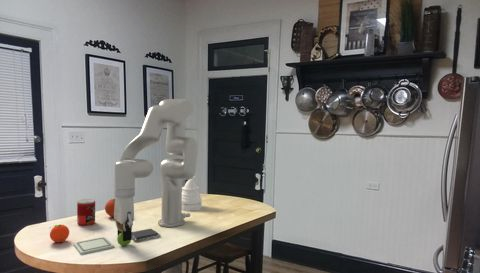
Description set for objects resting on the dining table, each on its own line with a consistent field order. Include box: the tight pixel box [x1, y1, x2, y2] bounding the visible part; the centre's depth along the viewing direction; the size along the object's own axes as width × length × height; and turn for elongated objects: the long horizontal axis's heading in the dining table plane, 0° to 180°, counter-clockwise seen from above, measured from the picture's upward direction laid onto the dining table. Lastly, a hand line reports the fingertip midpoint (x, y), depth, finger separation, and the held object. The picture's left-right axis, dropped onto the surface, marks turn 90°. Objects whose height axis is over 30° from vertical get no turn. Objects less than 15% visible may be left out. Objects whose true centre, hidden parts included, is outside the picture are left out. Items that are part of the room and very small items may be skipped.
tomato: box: [104, 198, 115, 218], centre depth 168 cm, size 10×10×10 cm
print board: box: [73, 236, 115, 256], centre depth 127 cm, size 12×12×1 cm
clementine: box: [49, 224, 70, 243], centre depth 131 cm, size 8×7×7 cm
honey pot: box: [182, 175, 203, 212], centre depth 187 cm, size 13×13×18 cm
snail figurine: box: [114, 215, 133, 247], centre depth 129 cm, size 5×6×12 cm
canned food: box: [76, 198, 96, 227], centre depth 155 cm, size 8×8×11 cm
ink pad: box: [131, 228, 161, 243], centre depth 139 cm, size 11×9×2 cm
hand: (124, 237), depth 129 cm, fingers closed on snail figurine, 5 cm apart
